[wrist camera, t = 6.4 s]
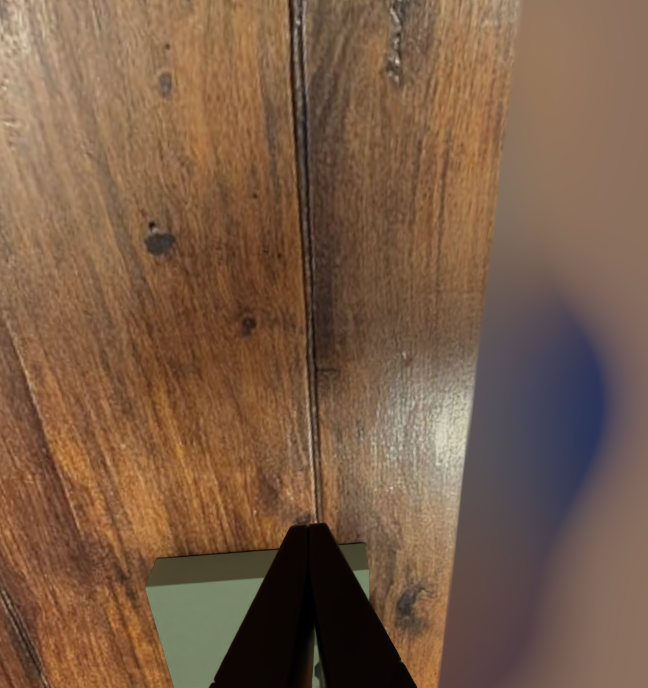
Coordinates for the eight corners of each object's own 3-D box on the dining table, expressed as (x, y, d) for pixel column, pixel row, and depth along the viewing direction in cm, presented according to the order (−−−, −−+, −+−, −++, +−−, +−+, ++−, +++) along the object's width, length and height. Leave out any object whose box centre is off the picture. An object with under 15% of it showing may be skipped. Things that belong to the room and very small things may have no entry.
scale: (376, 541, 24) (388, 595, 20) (375, 663, 28) (385, 725, 24) (156, 558, 23) (132, 616, 20) (188, 679, 27) (172, 744, 24)
